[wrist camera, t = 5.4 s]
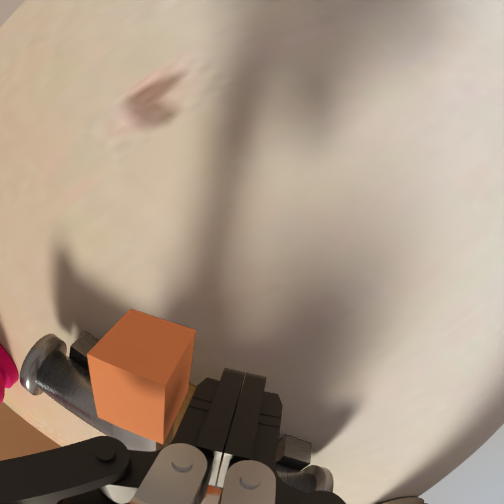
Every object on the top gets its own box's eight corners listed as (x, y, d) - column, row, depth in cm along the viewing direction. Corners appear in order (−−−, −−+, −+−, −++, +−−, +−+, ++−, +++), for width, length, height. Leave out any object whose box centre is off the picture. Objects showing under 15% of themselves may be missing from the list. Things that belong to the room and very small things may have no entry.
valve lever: (183, 500, 16) (172, 532, 13) (135, 483, 16) (120, 513, 13) (209, 333, 11) (182, 391, 8) (119, 304, 11) (74, 347, 8)
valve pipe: (335, 442, 22) (337, 516, 15) (296, 472, 24) (290, 536, 17) (70, 310, 21) (10, 361, 14) (64, 357, 23) (17, 406, 16)
